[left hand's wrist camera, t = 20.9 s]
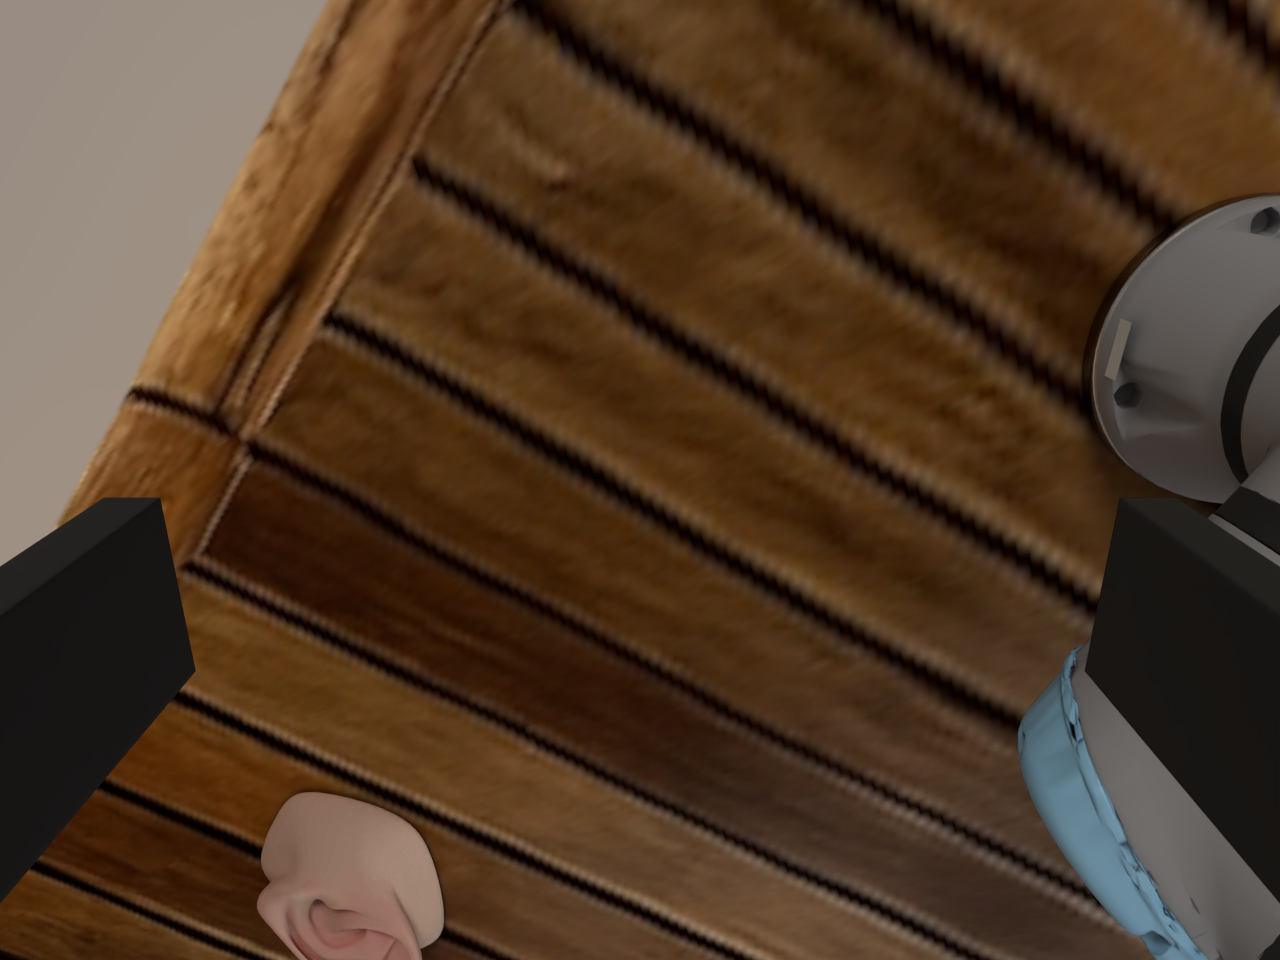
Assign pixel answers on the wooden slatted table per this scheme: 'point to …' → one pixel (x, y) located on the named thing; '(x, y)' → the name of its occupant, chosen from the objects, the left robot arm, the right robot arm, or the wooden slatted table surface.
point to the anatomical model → (348, 881)
